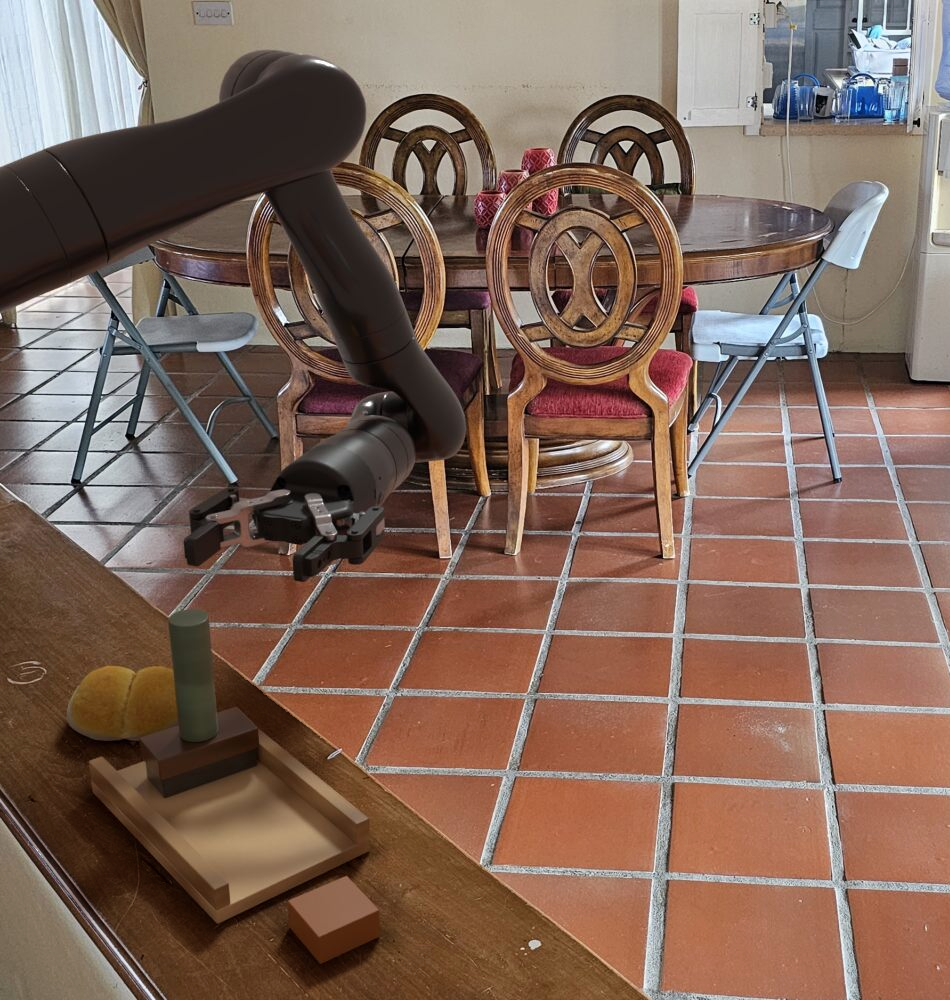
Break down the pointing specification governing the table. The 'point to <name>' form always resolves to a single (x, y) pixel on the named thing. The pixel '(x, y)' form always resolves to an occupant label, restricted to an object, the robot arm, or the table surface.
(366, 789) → the table surface
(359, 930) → the brown block
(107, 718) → the bread roll
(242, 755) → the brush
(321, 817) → the tray
